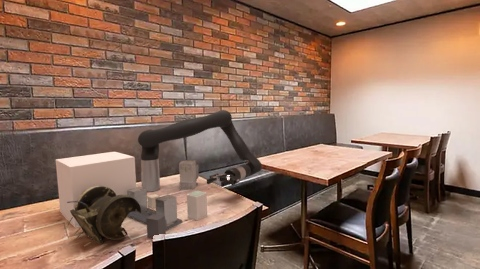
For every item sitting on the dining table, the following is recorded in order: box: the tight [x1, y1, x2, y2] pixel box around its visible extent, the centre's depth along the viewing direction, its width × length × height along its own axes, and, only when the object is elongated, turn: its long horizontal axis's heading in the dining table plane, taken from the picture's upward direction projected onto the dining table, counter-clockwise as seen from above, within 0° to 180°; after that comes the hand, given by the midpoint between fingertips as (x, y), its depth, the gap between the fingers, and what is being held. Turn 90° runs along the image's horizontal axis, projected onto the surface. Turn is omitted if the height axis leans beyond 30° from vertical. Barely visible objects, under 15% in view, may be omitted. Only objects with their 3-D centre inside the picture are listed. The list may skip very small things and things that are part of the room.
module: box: [186, 190, 208, 221], centre depth 111 cm, size 6×6×10 cm
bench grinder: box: [64, 186, 141, 247], centre depth 95 cm, size 20×22×20 cm
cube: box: [55, 151, 137, 229], centre depth 118 cm, size 25×21×24 cm
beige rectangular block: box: [147, 193, 161, 210], centre depth 123 cm, size 4×4×5 cm
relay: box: [146, 214, 167, 239], centre depth 96 cm, size 5×4×7 cm
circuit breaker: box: [178, 159, 200, 191], centre depth 153 cm, size 8×14×15 cm, turn 174°
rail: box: [127, 186, 183, 231], centre depth 109 cm, size 26×9×11 cm, turn 55°
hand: (214, 183), depth 120 cm, fingers open, 8 cm apart
